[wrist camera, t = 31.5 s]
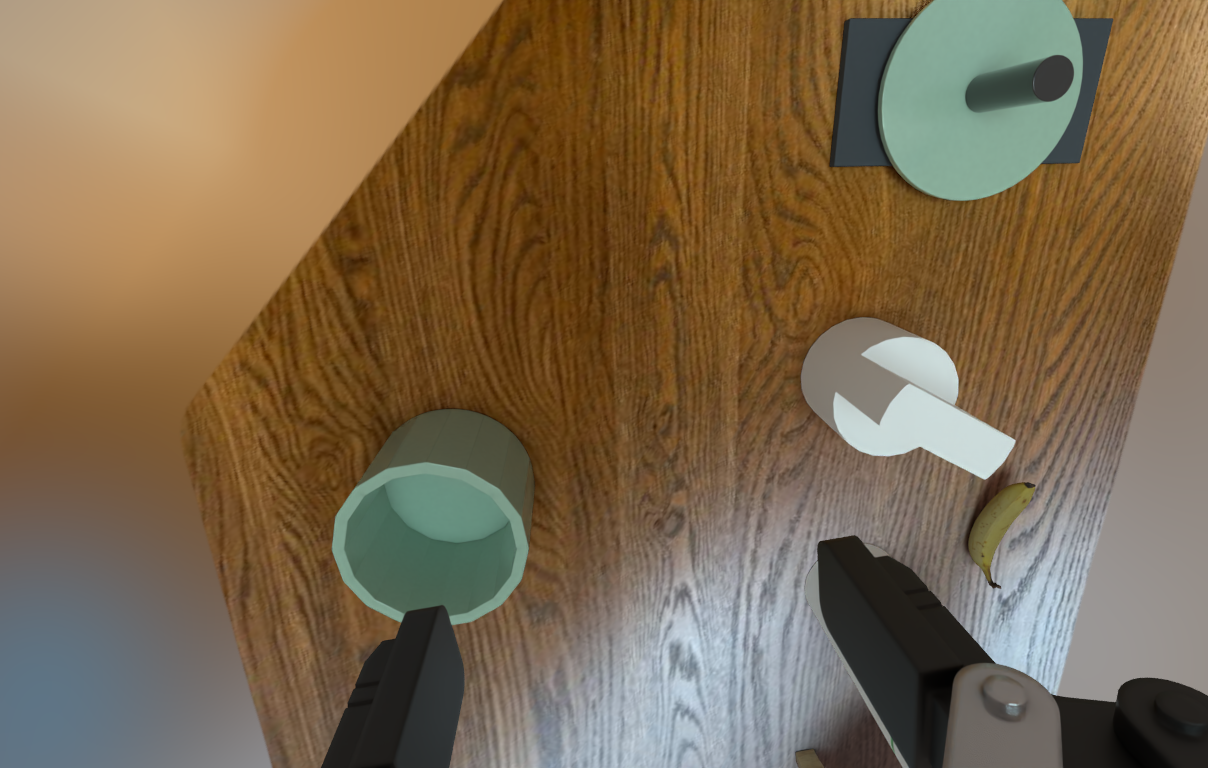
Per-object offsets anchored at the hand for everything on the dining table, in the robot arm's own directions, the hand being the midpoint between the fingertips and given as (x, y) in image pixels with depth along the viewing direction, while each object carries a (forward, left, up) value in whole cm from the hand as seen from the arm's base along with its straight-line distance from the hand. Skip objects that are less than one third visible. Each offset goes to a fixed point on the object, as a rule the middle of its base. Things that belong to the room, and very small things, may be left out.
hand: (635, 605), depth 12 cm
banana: (+40, +5, -33) cm, 52 cm away
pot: (0, -18, -33) cm, 38 cm away
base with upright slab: (+21, +8, -33) cm, 40 cm away
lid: (+13, +27, -32) cm, 44 cm away
